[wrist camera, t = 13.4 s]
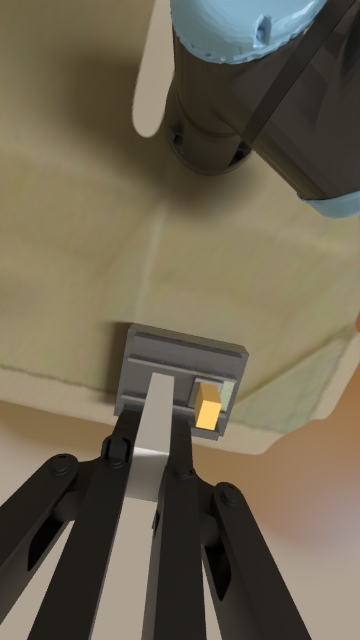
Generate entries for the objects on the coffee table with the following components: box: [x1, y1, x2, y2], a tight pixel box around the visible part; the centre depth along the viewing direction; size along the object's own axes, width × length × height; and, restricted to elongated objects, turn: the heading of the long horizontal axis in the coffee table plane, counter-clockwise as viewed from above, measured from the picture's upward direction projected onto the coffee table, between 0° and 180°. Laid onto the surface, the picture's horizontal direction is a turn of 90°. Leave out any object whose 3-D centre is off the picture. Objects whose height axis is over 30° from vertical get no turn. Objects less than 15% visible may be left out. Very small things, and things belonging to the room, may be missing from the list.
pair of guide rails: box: [121, 333, 243, 441], centre depth 44 cm, size 17×19×2 cm
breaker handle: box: [188, 376, 223, 430], centre depth 41 cm, size 6×5×7 cm
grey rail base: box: [114, 323, 249, 436], centre depth 46 cm, size 18×22×5 cm
